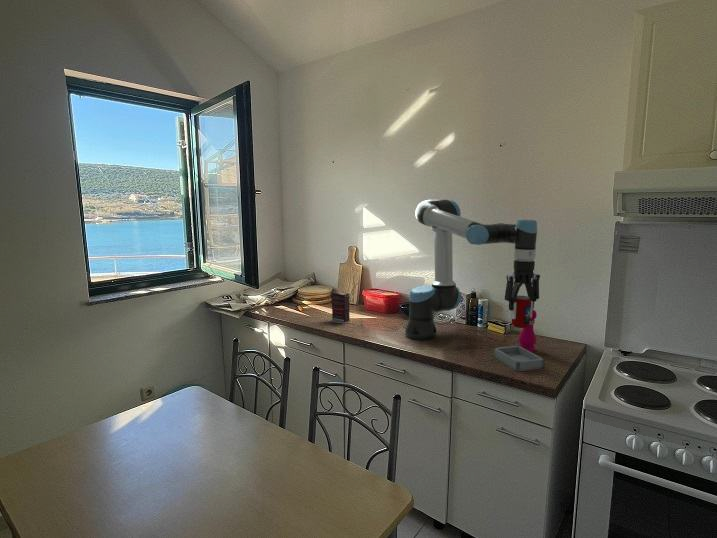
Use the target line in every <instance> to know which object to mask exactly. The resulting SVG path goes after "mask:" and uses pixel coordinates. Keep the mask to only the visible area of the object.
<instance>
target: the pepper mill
mask: <svg viewBox="0 0 717 538" xmlns="http://www.w3.org/2000/svg"><path fill="white" fill-rule="evenodd" d="M537 315H538V314H537V312H536V310H535V309H534V308H533V309H532V318H530V325H529V327H527V328H522V330H521V331H520V334H519V335H518V339H517V340H518V342H519V345H518V346H520V347H522V348H524V349H526V350H528V351H530V352H531V353H533V352H535V348H536V347H535V344H537V337H536V334H535V331H534V325H535V322H536V318H537Z"/></svg>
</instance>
